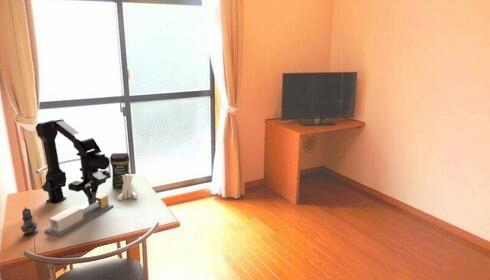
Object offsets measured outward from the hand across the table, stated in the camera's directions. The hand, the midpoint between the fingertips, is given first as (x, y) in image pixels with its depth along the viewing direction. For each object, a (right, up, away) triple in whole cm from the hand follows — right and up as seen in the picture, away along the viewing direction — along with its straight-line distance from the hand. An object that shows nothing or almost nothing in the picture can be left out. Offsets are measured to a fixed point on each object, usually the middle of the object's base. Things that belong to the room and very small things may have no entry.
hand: (92, 197), depth 159 cm
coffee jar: (+3, +1, +30) cm, 30 cm away
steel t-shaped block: (-1, -6, -1) cm, 6 cm away
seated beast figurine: (+10, -2, +18) cm, 21 cm away
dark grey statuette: (-18, -12, -16) cm, 27 cm away
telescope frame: (-2, -8, -3) cm, 9 cm away
